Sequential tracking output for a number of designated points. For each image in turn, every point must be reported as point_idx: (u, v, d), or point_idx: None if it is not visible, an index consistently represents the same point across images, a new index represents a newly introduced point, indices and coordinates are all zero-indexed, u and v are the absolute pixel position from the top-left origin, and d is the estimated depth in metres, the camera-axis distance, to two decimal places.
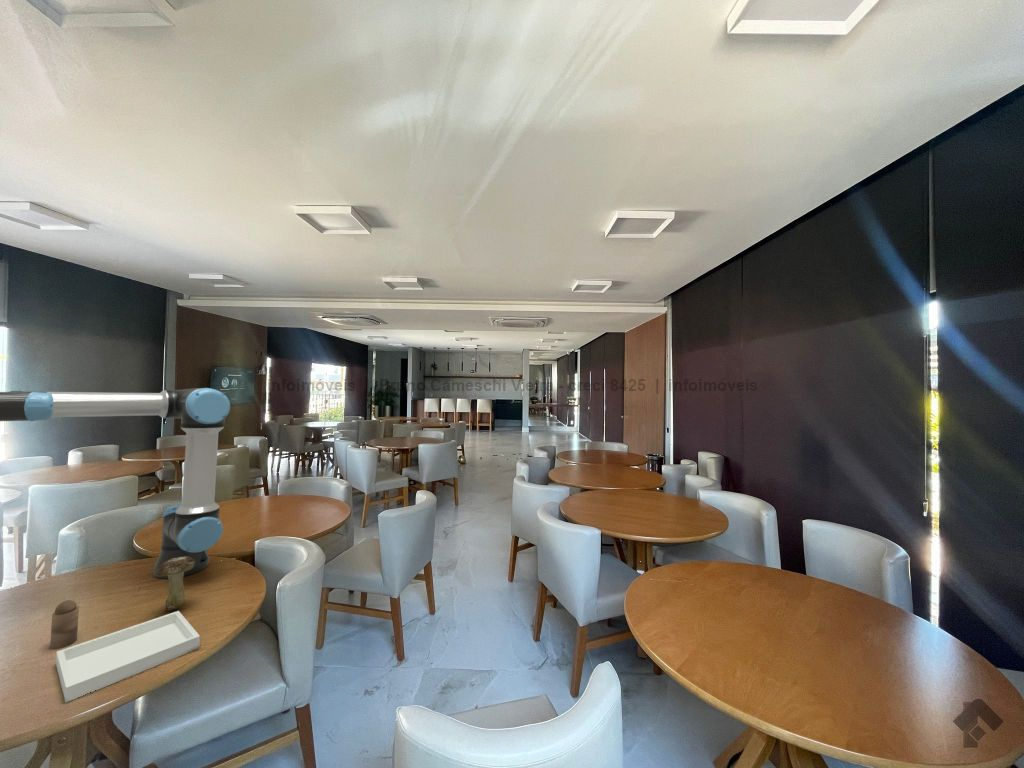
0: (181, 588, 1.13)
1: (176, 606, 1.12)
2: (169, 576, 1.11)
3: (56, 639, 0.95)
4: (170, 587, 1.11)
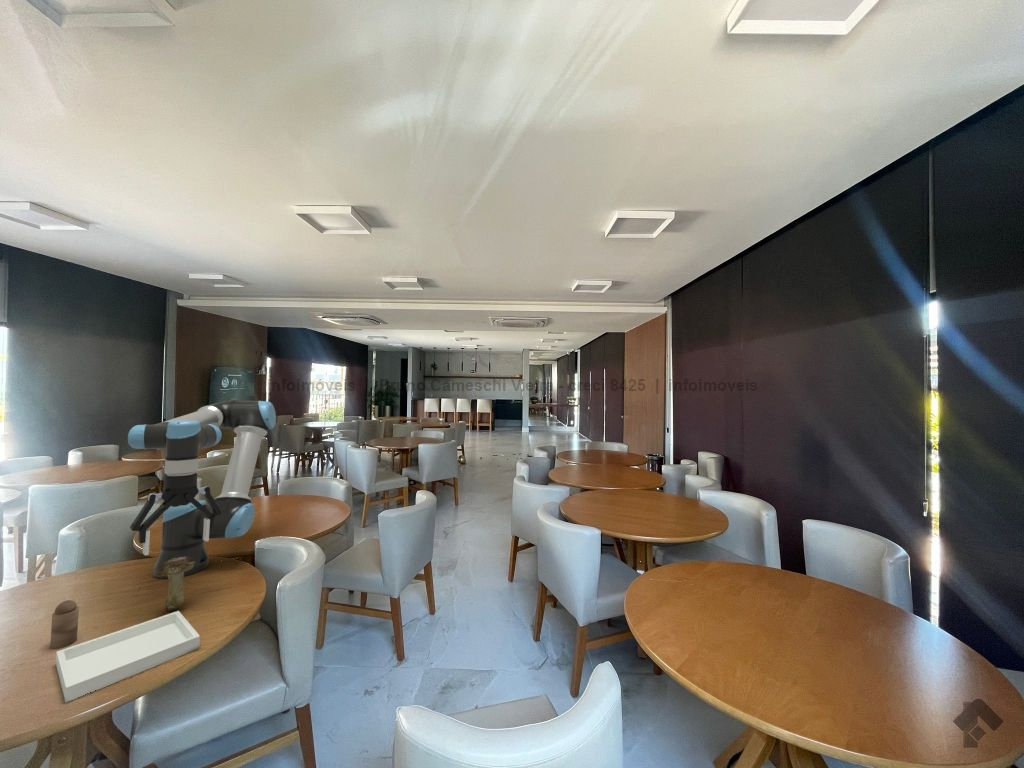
0: (181, 588, 1.13)
1: (176, 606, 1.12)
2: (169, 576, 1.11)
3: (56, 639, 0.95)
4: (170, 587, 1.11)
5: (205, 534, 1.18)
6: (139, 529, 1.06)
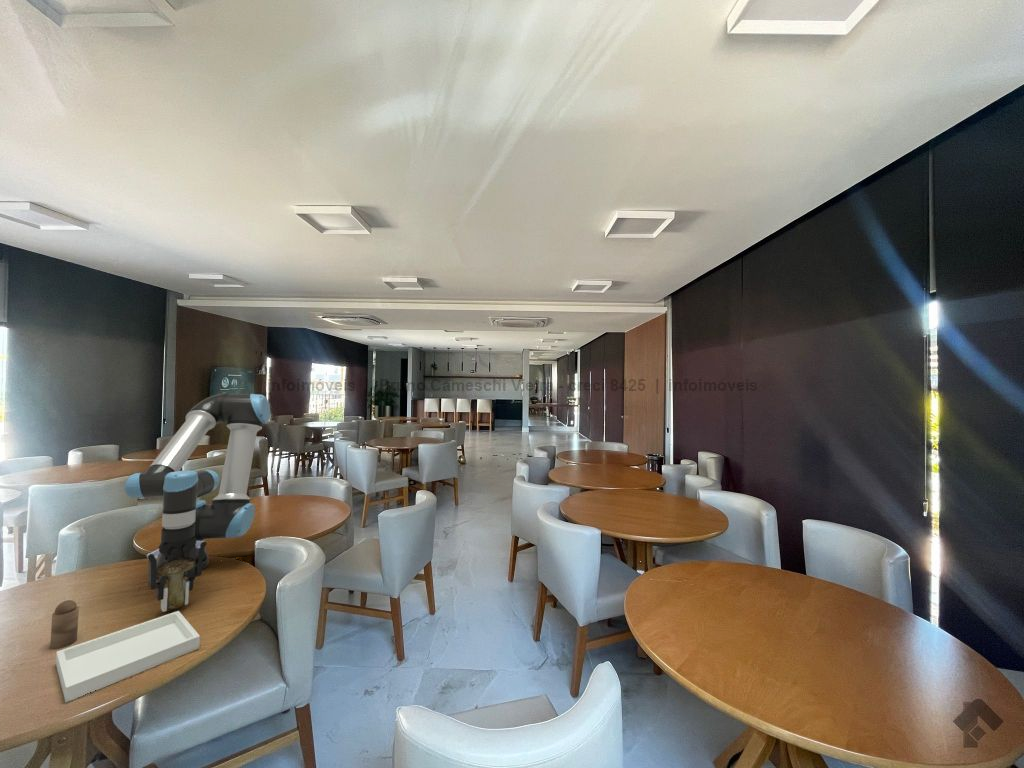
0: (181, 588, 1.13)
1: (176, 606, 1.12)
2: (169, 576, 1.11)
3: (56, 639, 0.95)
4: (170, 587, 1.11)
5: None
6: (157, 587, 1.09)
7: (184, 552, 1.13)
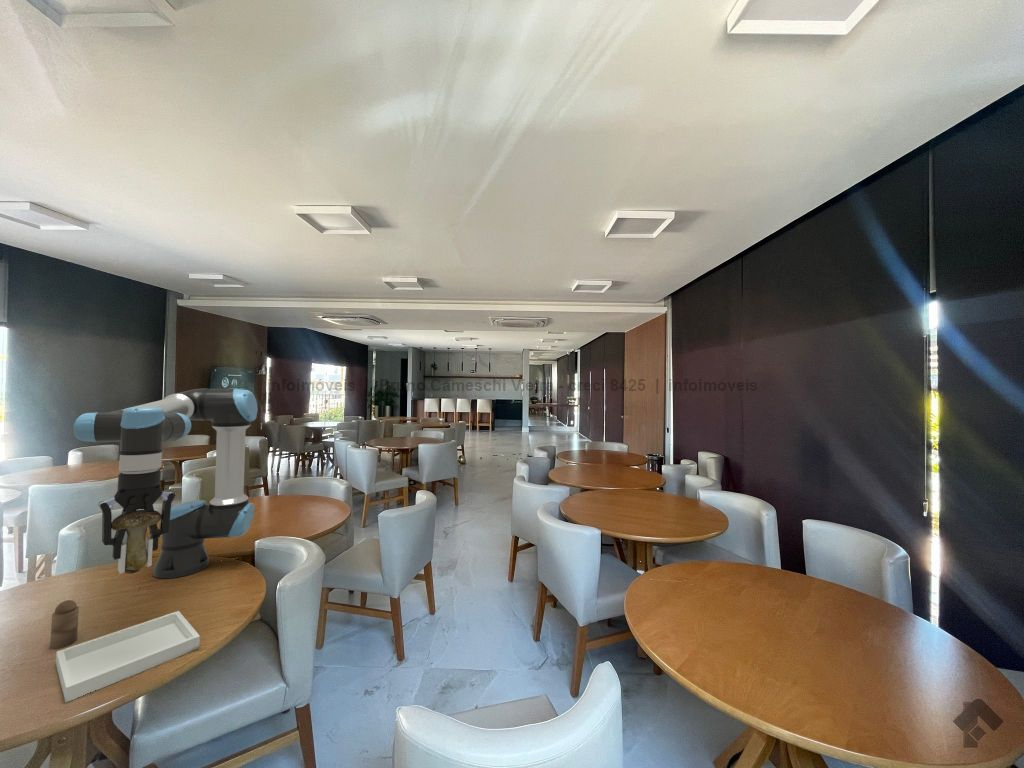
0: (143, 546, 0.94)
1: (136, 567, 0.93)
2: (128, 531, 0.92)
3: (56, 639, 0.95)
4: (129, 544, 0.92)
5: (147, 557, 0.95)
6: (113, 543, 0.90)
7: (147, 503, 0.94)
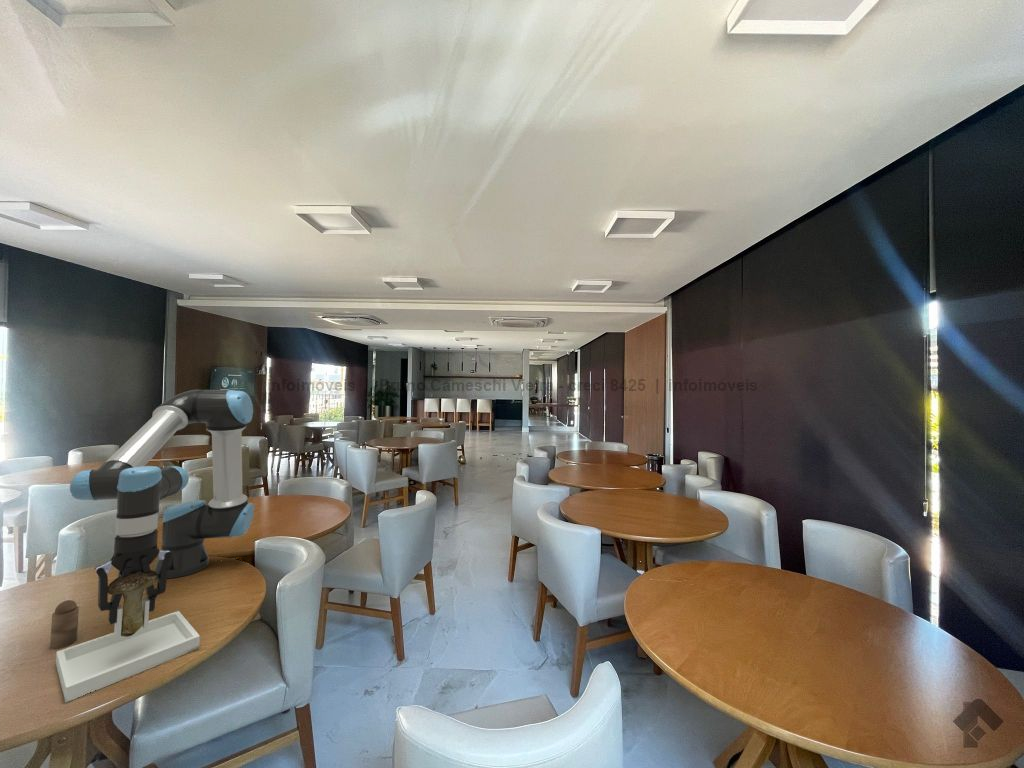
0: (139, 608, 0.93)
1: (132, 631, 0.92)
2: (124, 594, 0.92)
3: (56, 639, 0.95)
4: (125, 607, 0.92)
5: None
6: (109, 607, 0.90)
7: (143, 565, 0.94)
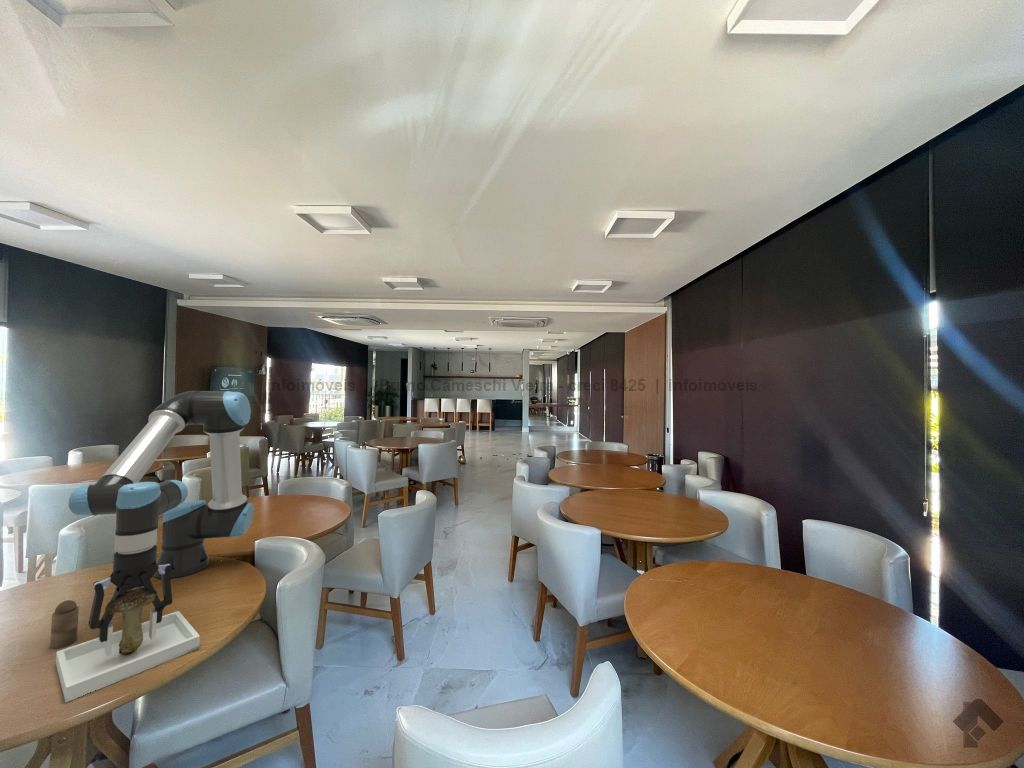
0: (138, 627, 0.93)
1: (132, 649, 0.92)
2: (123, 613, 0.92)
3: (56, 639, 0.95)
4: (124, 626, 0.92)
5: (151, 630, 0.96)
6: (99, 626, 0.89)
7: (144, 581, 0.94)
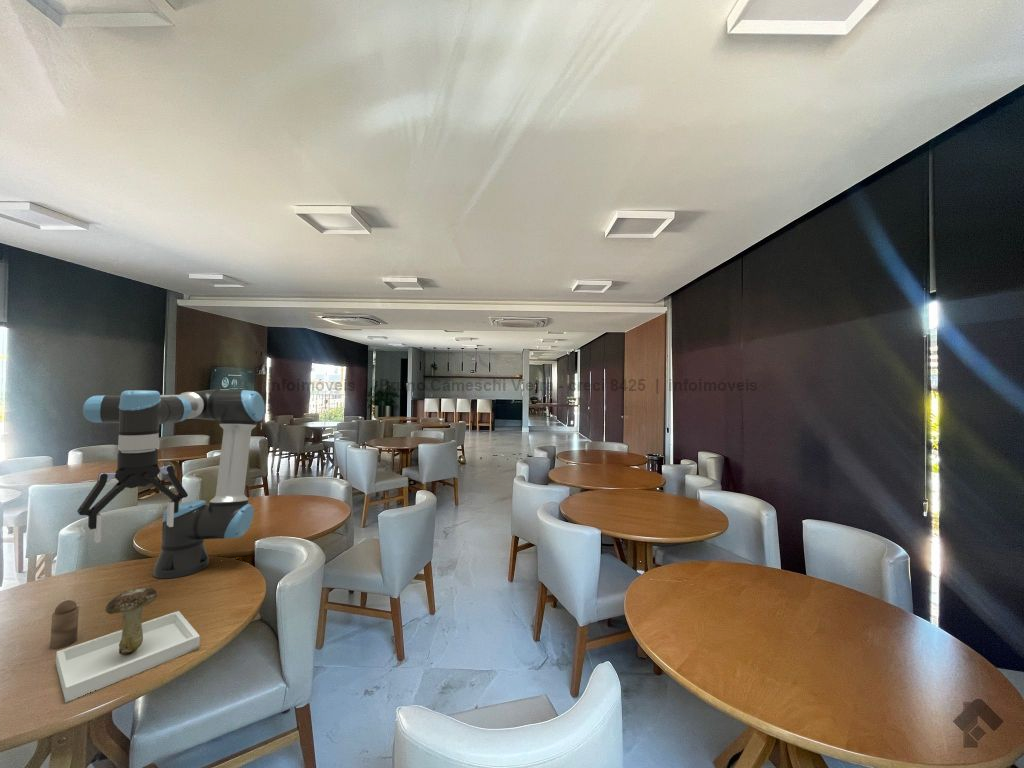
0: (138, 627, 0.93)
1: (132, 649, 0.92)
2: (123, 613, 0.92)
3: (56, 639, 0.95)
4: (124, 626, 0.91)
5: (169, 519, 1.05)
6: (88, 513, 0.92)
7: (149, 480, 1.00)
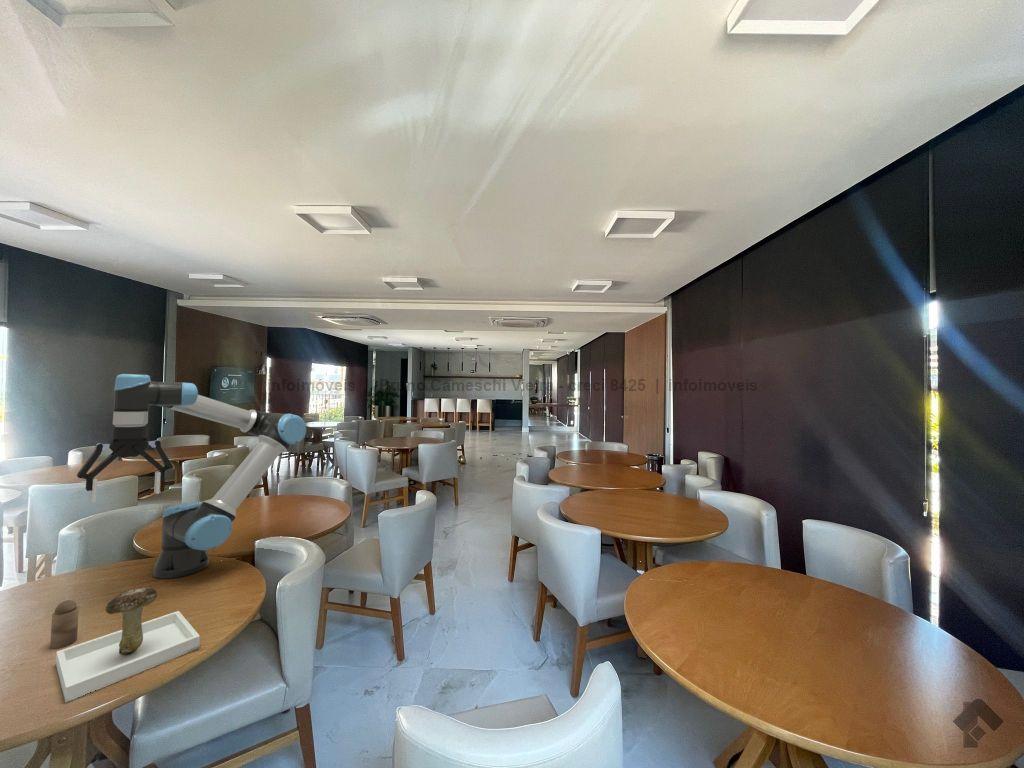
0: (138, 627, 0.93)
1: (132, 649, 0.92)
2: (123, 613, 0.92)
3: (56, 639, 0.95)
4: (124, 626, 0.91)
5: (156, 487, 1.20)
6: (86, 477, 1.09)
7: (139, 451, 1.17)
